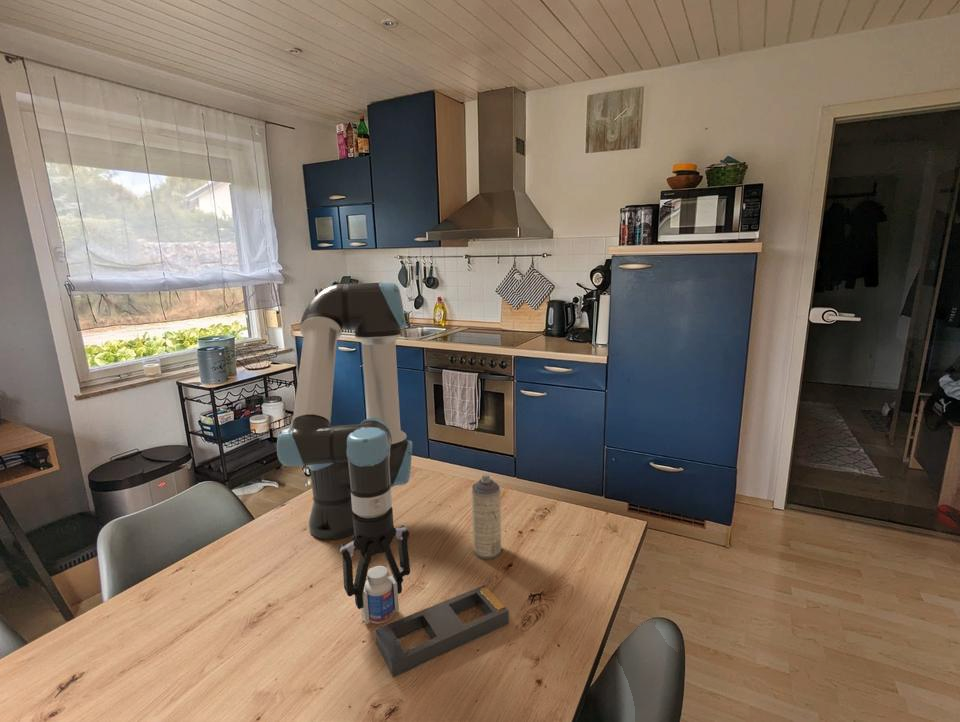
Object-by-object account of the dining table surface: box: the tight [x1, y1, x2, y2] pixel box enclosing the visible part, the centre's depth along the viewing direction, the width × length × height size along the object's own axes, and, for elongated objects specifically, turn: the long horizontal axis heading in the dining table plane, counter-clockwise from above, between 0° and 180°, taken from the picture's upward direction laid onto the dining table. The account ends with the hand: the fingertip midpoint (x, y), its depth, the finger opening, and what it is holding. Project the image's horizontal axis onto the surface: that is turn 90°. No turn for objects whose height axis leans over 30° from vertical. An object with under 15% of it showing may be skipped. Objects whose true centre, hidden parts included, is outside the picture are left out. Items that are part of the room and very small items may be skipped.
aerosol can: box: [471, 473, 502, 560], centre depth 117 cm, size 7×7×20 cm
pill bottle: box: [364, 565, 395, 625], centre depth 97 cm, size 6×5×10 cm
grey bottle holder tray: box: [374, 584, 510, 678], centre depth 93 cm, size 9×24×3 cm, turn 120°
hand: (380, 613), depth 98 cm, fingers closed on pill bottle, 5 cm apart
